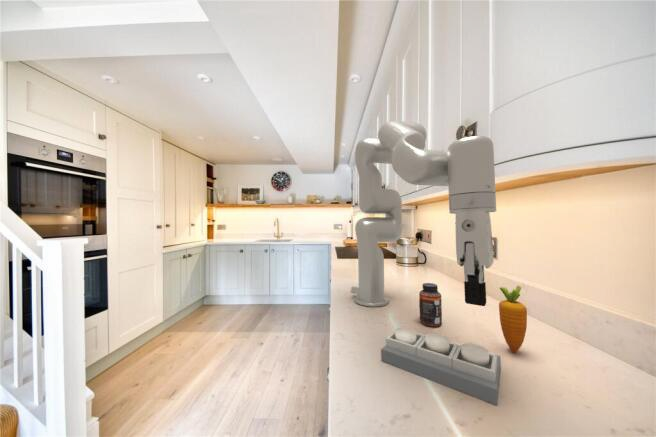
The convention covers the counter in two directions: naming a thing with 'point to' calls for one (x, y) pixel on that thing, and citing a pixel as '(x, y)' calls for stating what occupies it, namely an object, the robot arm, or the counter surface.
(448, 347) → the button middle
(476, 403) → the counter surface
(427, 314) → the supplement bottle
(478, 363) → the button right
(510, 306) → the carrot
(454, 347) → the panel
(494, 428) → the counter surface
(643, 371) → the counter surface
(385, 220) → the robot arm
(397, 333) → the button left
